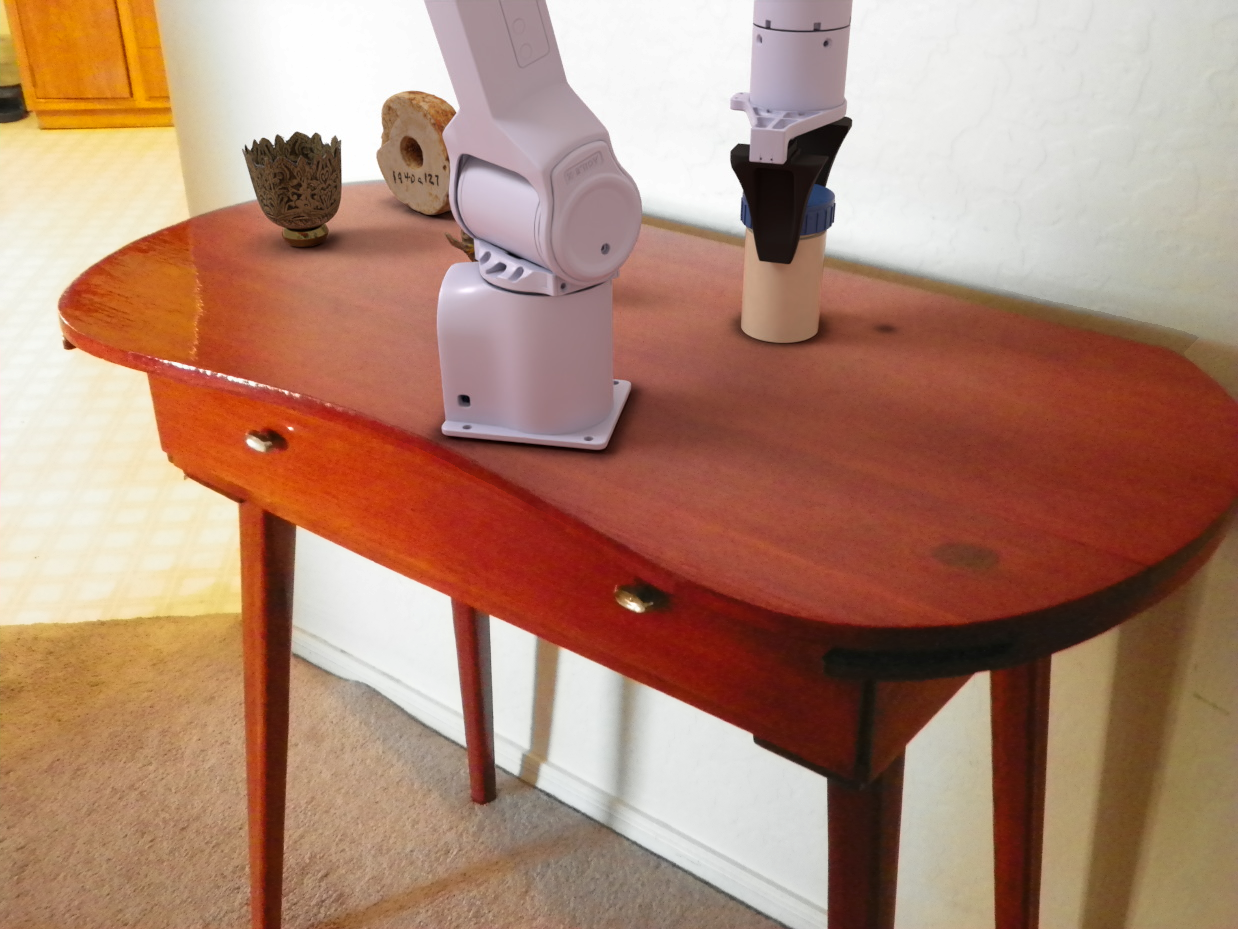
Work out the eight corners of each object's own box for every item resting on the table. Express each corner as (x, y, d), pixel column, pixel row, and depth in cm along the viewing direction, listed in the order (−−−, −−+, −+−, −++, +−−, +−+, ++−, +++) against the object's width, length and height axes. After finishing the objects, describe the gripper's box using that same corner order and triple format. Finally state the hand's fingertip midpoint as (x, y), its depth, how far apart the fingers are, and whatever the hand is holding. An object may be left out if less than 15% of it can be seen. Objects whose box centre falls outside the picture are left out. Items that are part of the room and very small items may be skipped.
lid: (823, 241, 70) (825, 212, 69) (729, 230, 72) (730, 202, 71) (841, 212, 75) (844, 185, 74) (753, 202, 76) (754, 176, 75)
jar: (737, 340, 75) (743, 213, 71) (744, 309, 79) (750, 188, 75) (816, 345, 74) (828, 217, 70) (819, 314, 79) (830, 192, 74)
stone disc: (484, 217, 97) (476, 97, 92) (450, 227, 95) (439, 105, 90) (412, 191, 104) (401, 78, 99) (378, 200, 101) (365, 85, 96)
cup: (239, 246, 91) (221, 146, 87) (309, 221, 97) (295, 126, 92) (303, 264, 88) (287, 161, 84) (372, 237, 93) (360, 139, 89)
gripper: (764, 0, 74) (754, 204, 81) (700, 42, 62) (695, 276, 69) (873, 5, 72) (853, 214, 79) (828, 49, 60) (810, 289, 67)
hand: (787, 244), depth 74 cm, fingers closed on lid, 5 cm apart
